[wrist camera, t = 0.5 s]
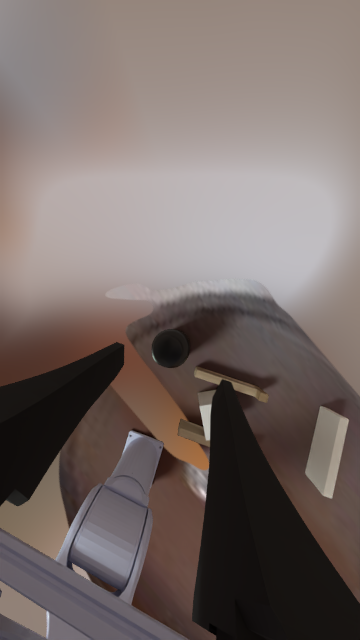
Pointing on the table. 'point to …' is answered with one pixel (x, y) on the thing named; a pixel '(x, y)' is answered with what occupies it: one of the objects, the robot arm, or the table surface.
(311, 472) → the board
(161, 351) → the supplement bottle
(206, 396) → the beige cube
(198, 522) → the table surface
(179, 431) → the chute
